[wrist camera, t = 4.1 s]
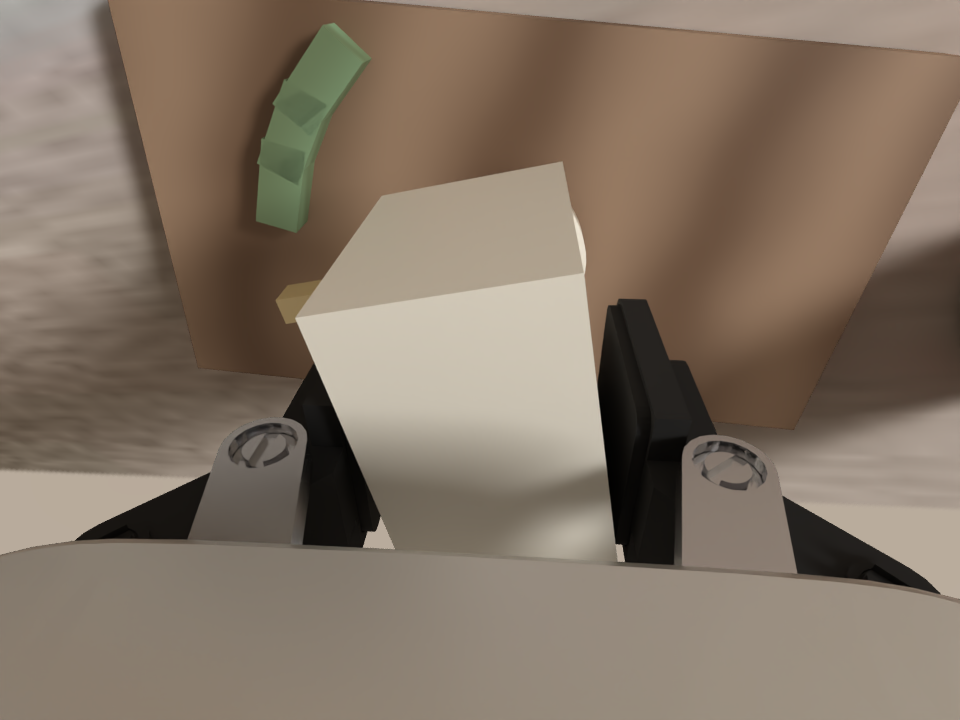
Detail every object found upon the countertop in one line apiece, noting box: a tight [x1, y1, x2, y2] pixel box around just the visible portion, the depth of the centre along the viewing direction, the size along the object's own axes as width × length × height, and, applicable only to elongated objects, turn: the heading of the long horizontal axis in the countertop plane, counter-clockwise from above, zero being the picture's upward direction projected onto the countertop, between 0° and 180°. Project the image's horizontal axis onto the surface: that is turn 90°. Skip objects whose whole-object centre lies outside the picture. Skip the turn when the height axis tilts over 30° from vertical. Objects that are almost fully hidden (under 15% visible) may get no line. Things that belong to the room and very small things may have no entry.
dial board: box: [108, 0, 960, 430], centre depth 18 cm, size 22×12×2 cm, turn 86°
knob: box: [275, 161, 617, 562], centre depth 13 cm, size 9×7×10 cm
